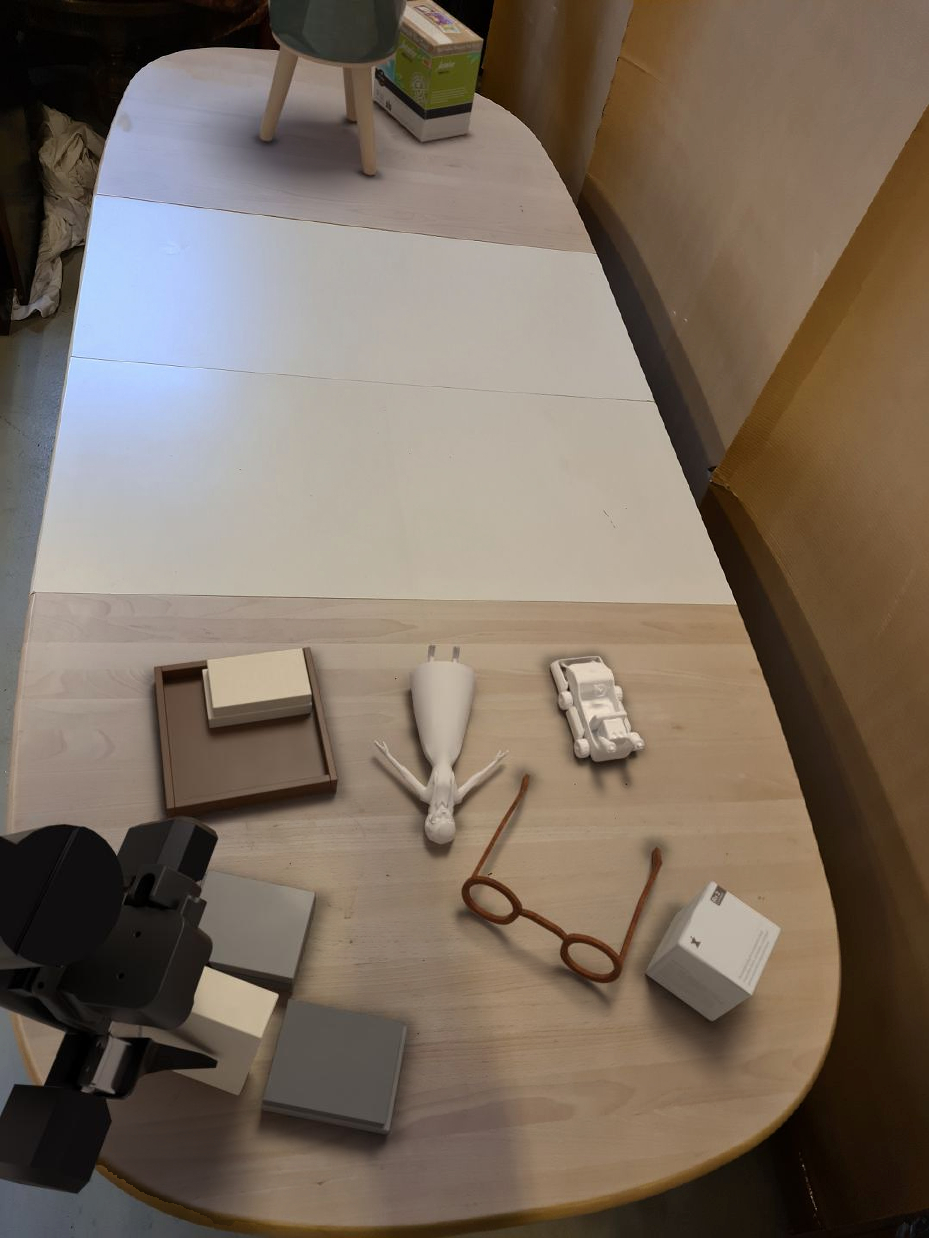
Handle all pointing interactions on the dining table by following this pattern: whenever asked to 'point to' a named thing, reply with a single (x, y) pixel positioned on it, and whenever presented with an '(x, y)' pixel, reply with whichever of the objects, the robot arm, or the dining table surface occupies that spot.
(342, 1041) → the dark grey book stack
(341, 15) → the planter
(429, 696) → the woman figurine
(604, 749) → the toy car
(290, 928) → the grey book stack left
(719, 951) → the white cardboard box
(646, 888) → the glasses
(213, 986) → the white book
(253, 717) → the white book stack
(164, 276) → the dining table surface
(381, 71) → the tea box
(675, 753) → the dining table surface
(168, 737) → the book tray
